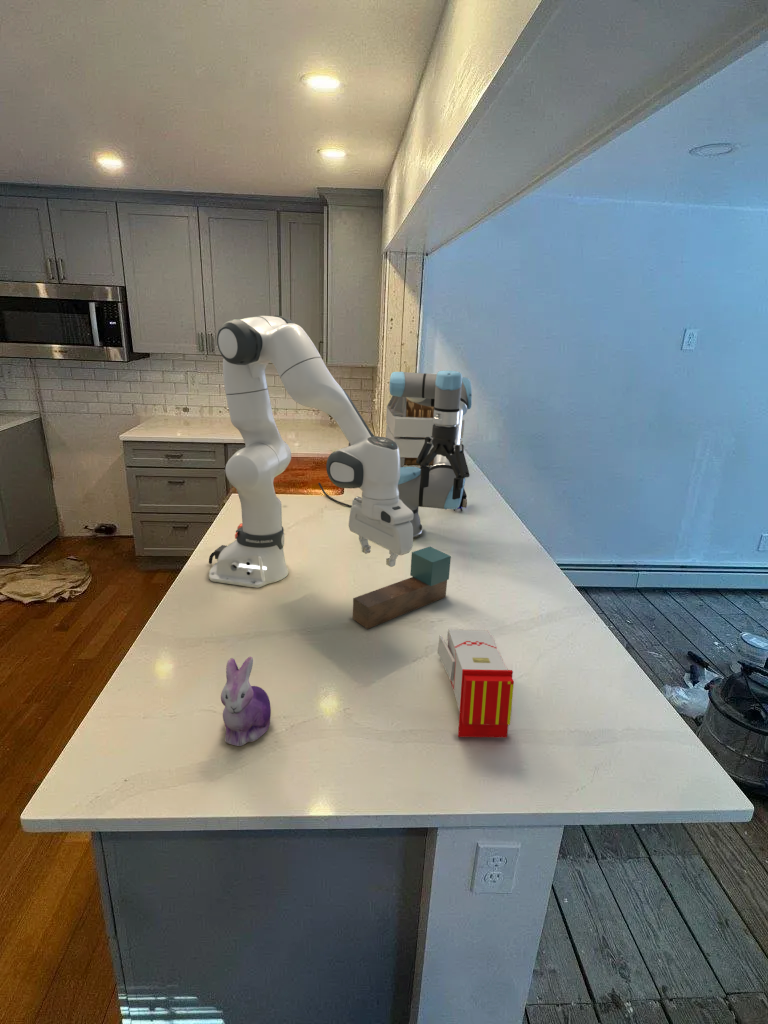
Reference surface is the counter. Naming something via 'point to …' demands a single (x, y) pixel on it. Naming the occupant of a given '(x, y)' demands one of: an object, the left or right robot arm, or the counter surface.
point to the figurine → (244, 705)
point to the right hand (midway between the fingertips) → (439, 492)
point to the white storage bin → (410, 428)
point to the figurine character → (463, 501)
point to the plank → (395, 601)
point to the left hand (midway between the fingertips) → (378, 558)
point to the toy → (478, 682)
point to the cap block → (430, 566)
